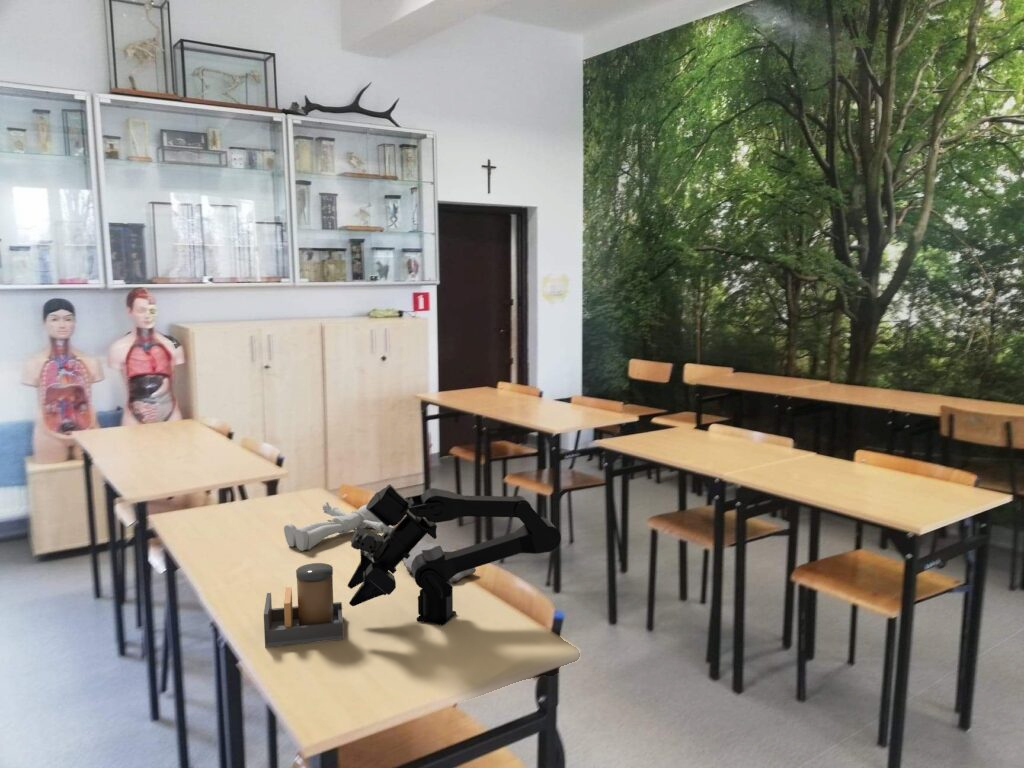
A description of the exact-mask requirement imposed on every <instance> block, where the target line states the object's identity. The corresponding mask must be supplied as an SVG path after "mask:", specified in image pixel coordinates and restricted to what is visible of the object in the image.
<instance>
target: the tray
mask: <svg viewBox="0 0 1024 768" xmlns="http://www.w3.org/2000/svg"><path fill="white" fill-rule="evenodd" d="M342 604H343V603H342V602H340V601H339V602H338V601H337V602H336V601H335V602H333V608H334V623H325V624H315V625H306V626H299V618H298V605H295V606H292V609H293V625H292V627H286V628H285V617H284V607H274V608H273V607H272V606H273V605H272V592H266V597H265V604H264V609H263V628H264V629H263V630H264V646H265V647H264V648H273V647H281V646H282V647H283V646H291V645H301V644H302V645H303V644H312V643H320V642H329V641H337V640H338V641H339V640H344V622H343V609H342V608H343V607H342V606H343V605H342Z"/></svg>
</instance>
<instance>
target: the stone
mask: <svg viewBox="0 0 1024 768" xmlns="http://www.w3.org/2000/svg"><path fill="white" fill-rule="evenodd" d="M436 546H441V548H442V550H443V552H453V551H454V550H452V549H448V548H446V547H443V546H442V545H440V544H438V543H431V542H429V541H425V540H420V541H419V542H418V544H417V545H416V546H415V547H414V548H413V549H412V550H411V551H410V552H409V553H410V557H409V558H408V559H406V558H404V559H403V560H402V561H403V562H402V563H403V564H404V565H405V568H406V569H407V571H409V572H410V573H412V569H411V565H412V562H413V560H414V559H415V557H416V556H417V555H419V554H421V553H422V550H430V549H432V548H434V547H436ZM476 571H477V569H476V567H475V568H472V569H469V570H466V571H463V572H459V573H457V574H456V575H455V576H454V577H452V578H451V579H450V582H451V583H452V582H458V581H459V580H461V579H462V578H464V577H466V576H471V575H473V574H474V573H476Z"/></svg>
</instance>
